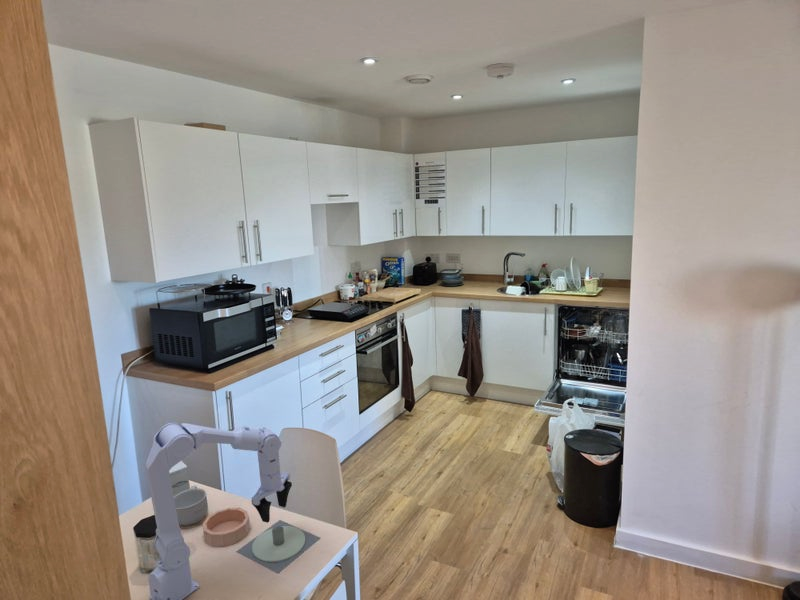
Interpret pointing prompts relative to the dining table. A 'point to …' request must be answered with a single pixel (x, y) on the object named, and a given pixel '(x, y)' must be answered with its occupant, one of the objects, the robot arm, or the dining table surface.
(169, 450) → the robot arm
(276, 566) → the mat
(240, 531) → the bowl
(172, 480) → the supplement box
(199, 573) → the dining table surface
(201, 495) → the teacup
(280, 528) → the cover
